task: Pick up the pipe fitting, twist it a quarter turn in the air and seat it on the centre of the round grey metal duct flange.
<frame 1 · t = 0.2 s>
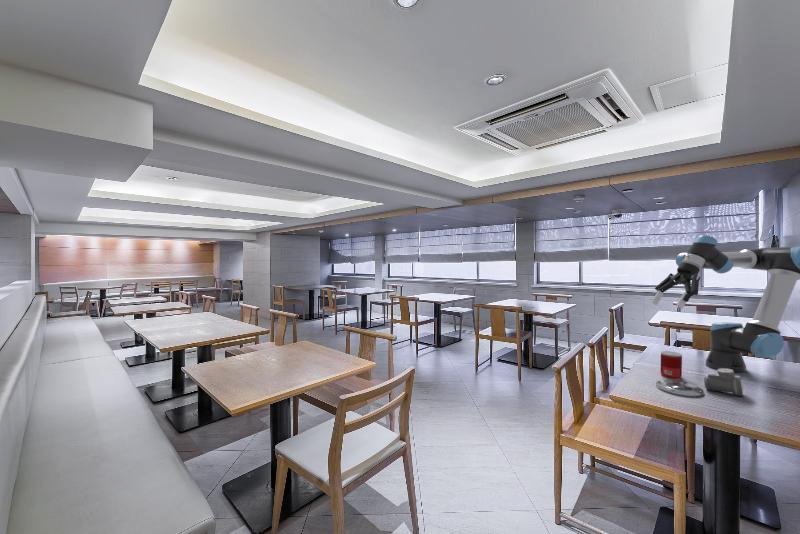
hand: (665, 305, 157), 35 cm above the table, fingers open, 13 cm apart
duct flange: (678, 389, 151), on the table
canned food: (670, 376, 167), on the table
pipe fitting: (723, 392, 147), on the table
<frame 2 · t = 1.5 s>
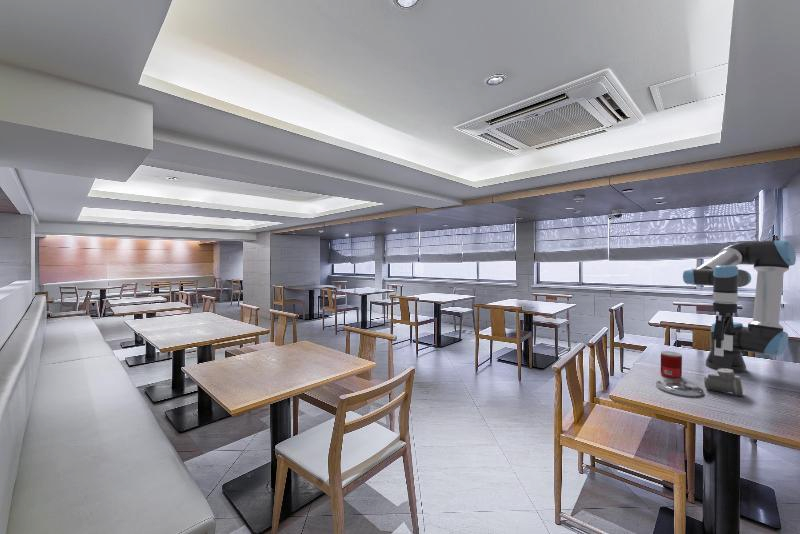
hand: (723, 352, 147), 17 cm above the table, fingers open, 13 cm apart
nothing on the table moved.
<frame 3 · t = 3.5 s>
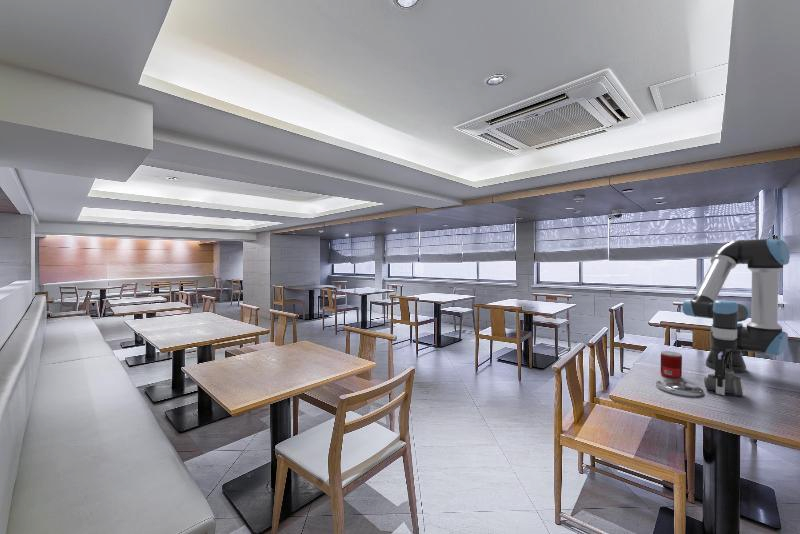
hand: (723, 391, 147), 0 cm above the table, fingers closed on pipe fitting, 8 cm apart
pipe fitting: (723, 392, 147), on the table, touching gripper
everything else where it was.
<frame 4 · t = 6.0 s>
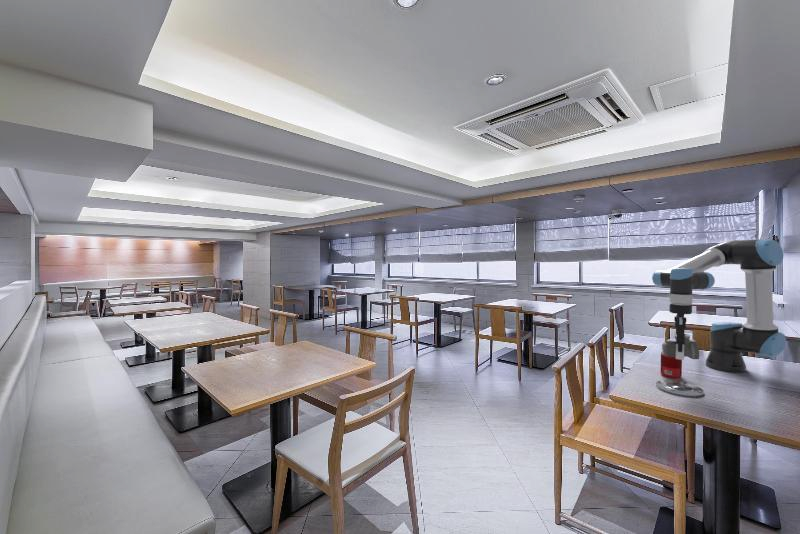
hand: (679, 356, 150), 14 cm above the table, fingers closed on pipe fitting, 8 cm apart
pipe fitting: (679, 357, 150), point 14 cm above the table, touching gripper
everything else where it was.
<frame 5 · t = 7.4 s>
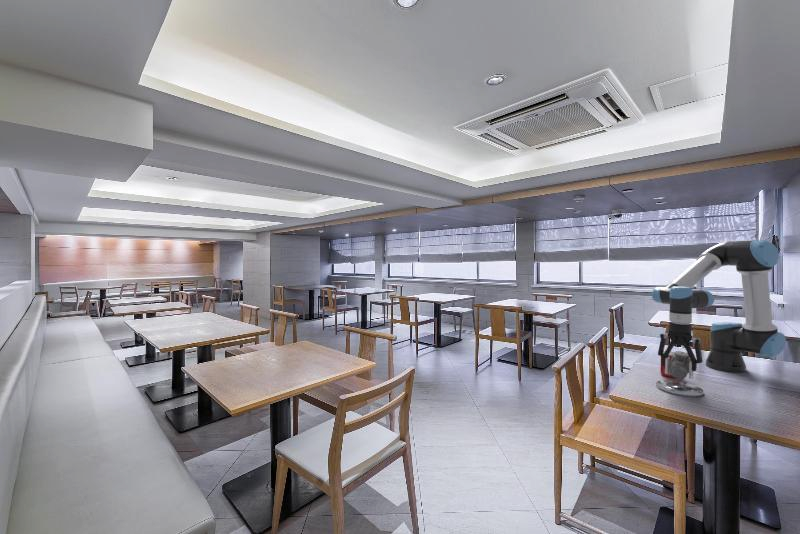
hand: (678, 375, 150), 6 cm above the table, fingers closed on pipe fitting, 8 cm apart
pipe fitting: (679, 376, 150), point 6 cm above the table, touching gripper
everything else where it was.
when the fingers open (3 cm above the table, at t = 8.3 s): pipe fitting drops 1 cm, resting on duct flange.
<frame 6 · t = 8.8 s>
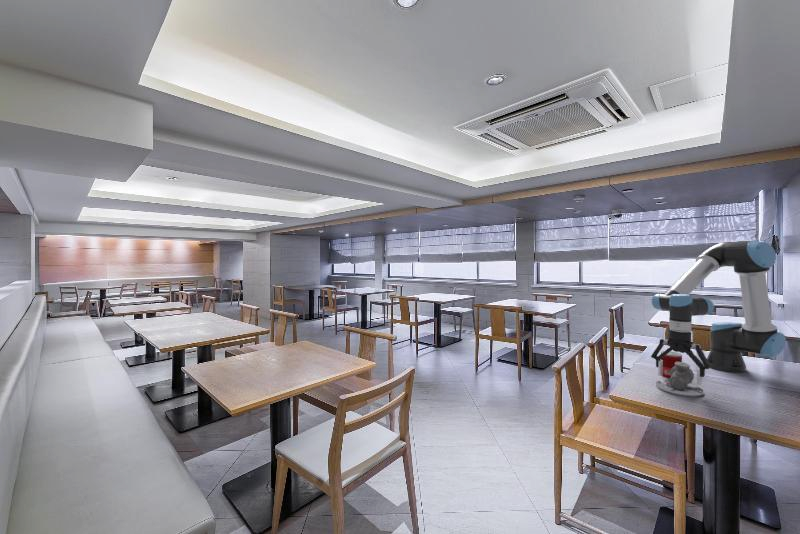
hand: (679, 379, 150), 4 cm above the table, fingers open, 13 cm apart
pipe fitting: (679, 387, 150), point 1 cm above the table, touching duct flange
everything else where it was.
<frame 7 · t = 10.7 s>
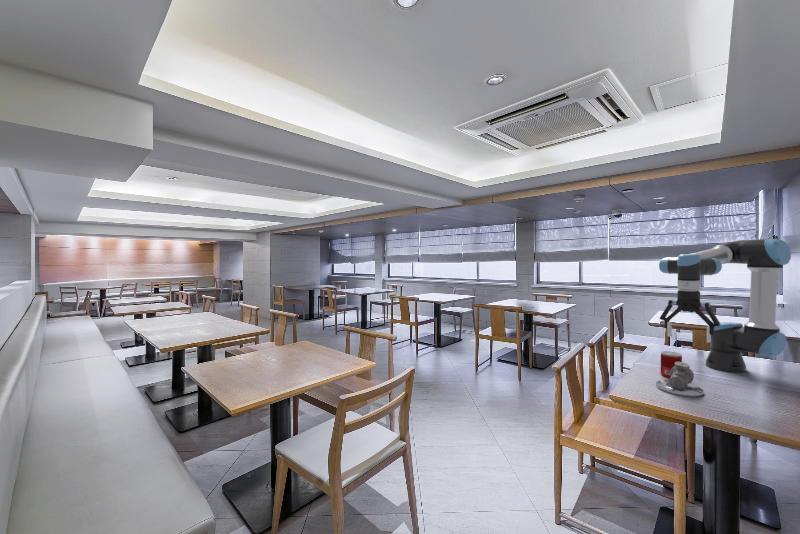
hand: (688, 339, 151), 22 cm above the table, fingers open, 13 cm apart
nothing on the table moved.
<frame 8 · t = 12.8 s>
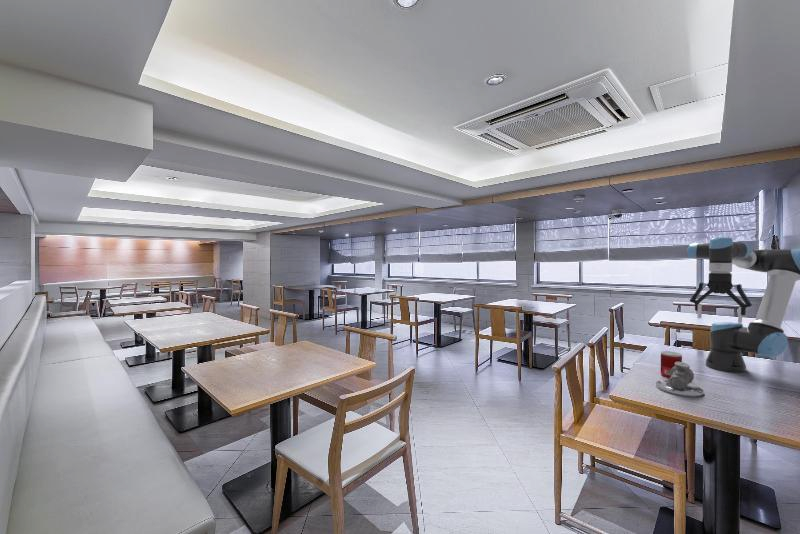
hand: (719, 320, 155), 29 cm above the table, fingers open, 13 cm apart
nothing on the table moved.
at the end: pipe fitting inside the target area on the duct flange (0.2 cm from its centre), point 1.1 cm above the duct flange's base; the gripper is holding nothing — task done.
